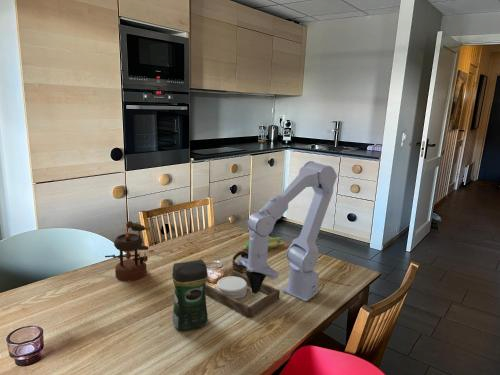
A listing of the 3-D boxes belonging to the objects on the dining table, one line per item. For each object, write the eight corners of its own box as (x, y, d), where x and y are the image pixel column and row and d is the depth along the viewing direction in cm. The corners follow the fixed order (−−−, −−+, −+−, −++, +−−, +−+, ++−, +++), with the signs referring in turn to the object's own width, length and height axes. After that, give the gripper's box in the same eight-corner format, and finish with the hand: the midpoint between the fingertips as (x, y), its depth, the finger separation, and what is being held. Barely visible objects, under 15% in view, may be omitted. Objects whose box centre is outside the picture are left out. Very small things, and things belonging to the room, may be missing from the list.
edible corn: (241, 240, 154) (246, 241, 150) (280, 235, 164) (286, 236, 160) (242, 252, 154) (247, 254, 150) (281, 246, 164) (287, 247, 160)
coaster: (219, 301, 115) (220, 291, 114) (214, 286, 124) (214, 276, 123) (250, 298, 118) (250, 288, 117) (242, 283, 127) (243, 274, 126)
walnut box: (279, 298, 118) (279, 290, 117) (249, 318, 107) (250, 309, 106) (233, 277, 130) (234, 270, 129) (202, 293, 119) (203, 285, 118)
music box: (148, 264, 137) (148, 215, 131) (153, 280, 128) (153, 228, 121) (105, 270, 131) (102, 219, 125) (106, 287, 121) (104, 232, 115)
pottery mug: (262, 275, 134) (253, 260, 130) (238, 284, 135) (229, 269, 131) (258, 254, 144) (250, 239, 141) (236, 263, 145) (227, 248, 142)
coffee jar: (201, 311, 109) (202, 254, 104) (210, 326, 102) (212, 266, 97) (169, 318, 105) (169, 259, 100) (176, 334, 98) (176, 271, 93)
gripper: (231, 248, 112) (229, 288, 115) (269, 263, 103) (266, 306, 106) (246, 242, 117) (244, 280, 120) (283, 256, 108) (280, 297, 112)
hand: (255, 292), depth 114 cm, fingers closed
